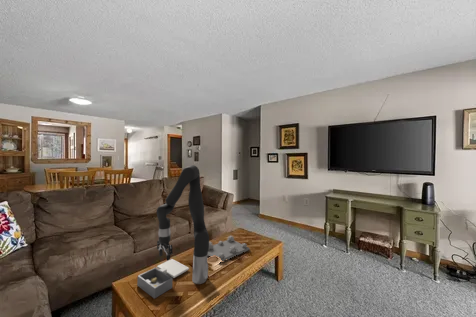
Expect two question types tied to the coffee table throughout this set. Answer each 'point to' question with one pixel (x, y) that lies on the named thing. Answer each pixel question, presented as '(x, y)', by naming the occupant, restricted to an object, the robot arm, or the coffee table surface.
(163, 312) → the coffee table surface
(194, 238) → the robot arm
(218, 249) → the grey knobbed board
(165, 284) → the tub
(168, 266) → the lid
